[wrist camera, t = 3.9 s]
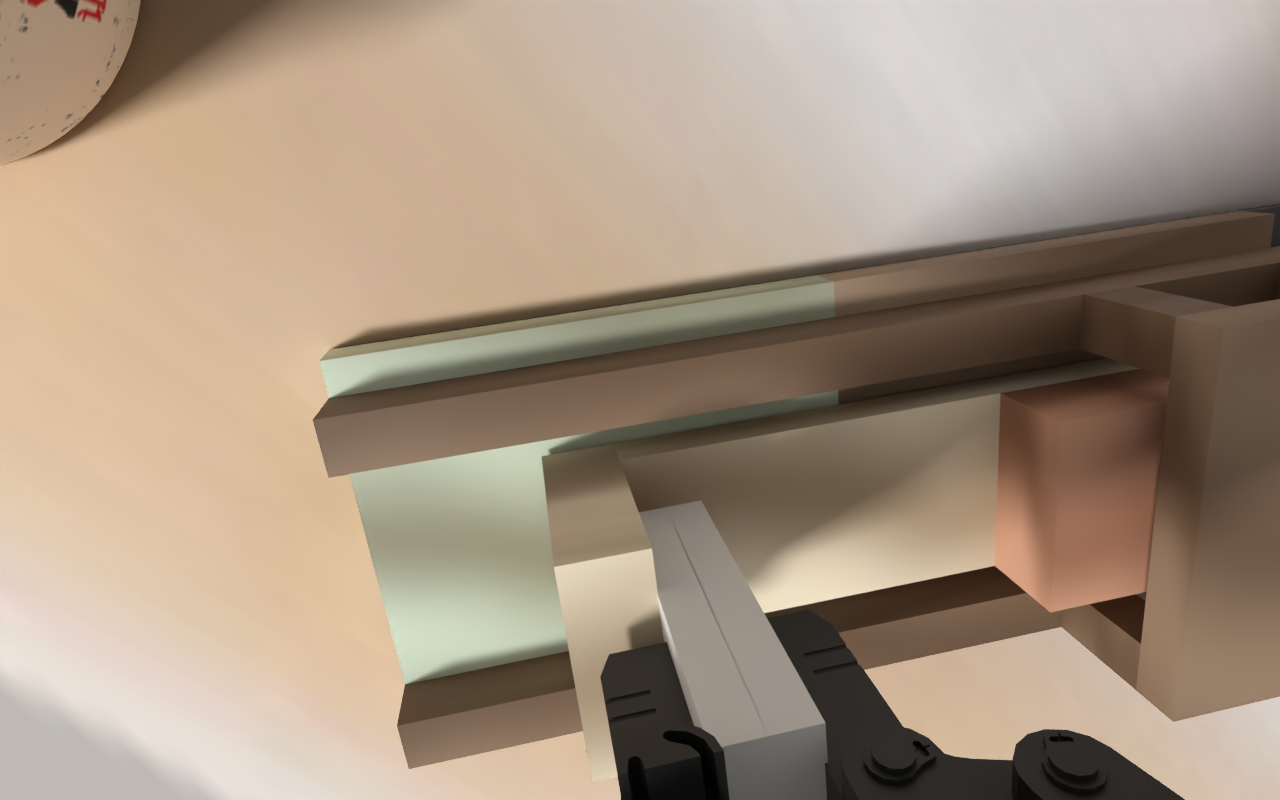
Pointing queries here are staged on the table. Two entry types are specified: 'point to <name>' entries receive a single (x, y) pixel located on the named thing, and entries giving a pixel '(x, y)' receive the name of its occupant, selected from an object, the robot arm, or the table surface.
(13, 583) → the table surface
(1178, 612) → the tunnel board
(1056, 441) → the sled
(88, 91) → the teacup with lid
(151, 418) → the table surface
